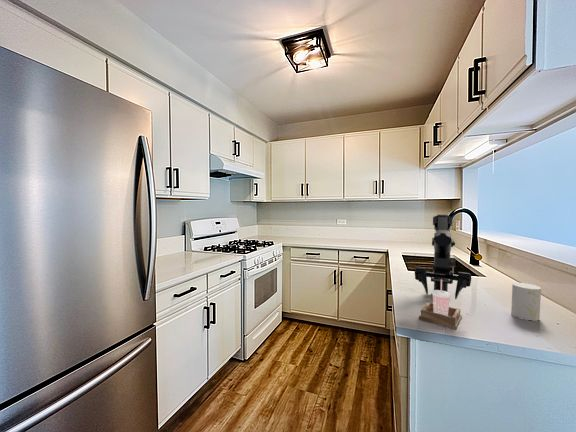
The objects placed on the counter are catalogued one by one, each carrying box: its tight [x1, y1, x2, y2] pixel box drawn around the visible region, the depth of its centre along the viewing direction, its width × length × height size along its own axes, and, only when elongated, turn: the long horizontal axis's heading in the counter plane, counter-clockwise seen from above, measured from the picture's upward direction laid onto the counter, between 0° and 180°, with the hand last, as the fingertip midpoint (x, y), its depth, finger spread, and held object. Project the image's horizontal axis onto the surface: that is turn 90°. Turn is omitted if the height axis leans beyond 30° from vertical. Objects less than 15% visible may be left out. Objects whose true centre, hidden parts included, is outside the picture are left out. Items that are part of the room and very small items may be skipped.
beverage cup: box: [431, 279, 451, 316], centre depth 99 cm, size 6×6×14 cm
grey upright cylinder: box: [510, 282, 542, 322], centre depth 101 cm, size 8×8×12 cm
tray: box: [418, 301, 463, 330], centre depth 99 cm, size 12×12×4 cm
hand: (441, 296), depth 98 cm, fingers open, 9 cm apart
